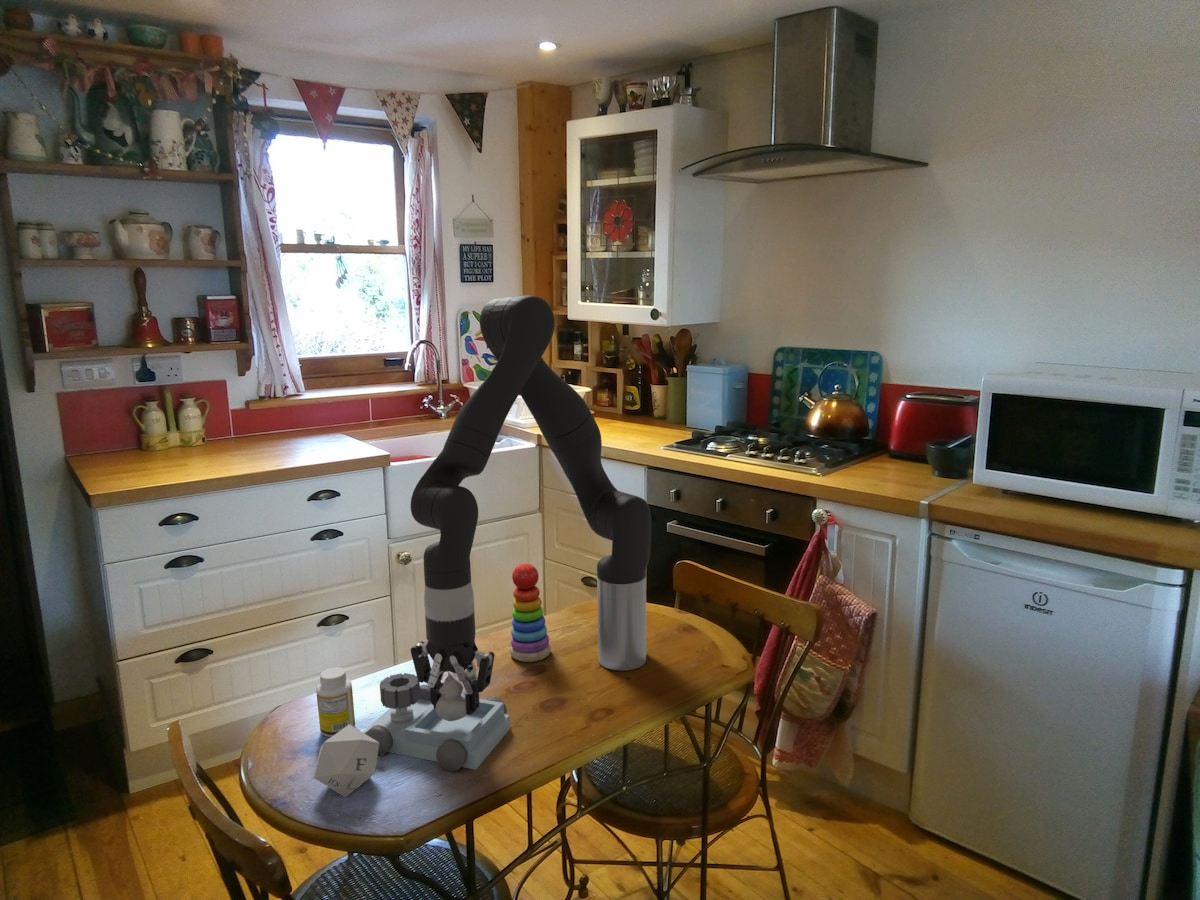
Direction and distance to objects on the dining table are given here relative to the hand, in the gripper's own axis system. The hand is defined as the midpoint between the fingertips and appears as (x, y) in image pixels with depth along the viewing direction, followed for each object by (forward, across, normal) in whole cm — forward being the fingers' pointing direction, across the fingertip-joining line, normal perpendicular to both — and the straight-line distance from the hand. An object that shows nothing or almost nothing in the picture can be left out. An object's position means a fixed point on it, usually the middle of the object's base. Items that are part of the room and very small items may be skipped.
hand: (455, 709), depth 130 cm
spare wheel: (0, +10, 0) cm, 10 cm away
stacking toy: (+6, +2, -32) cm, 33 cm away
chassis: (+6, +4, 0) cm, 7 cm away
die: (+6, +10, +15) cm, 19 cm away
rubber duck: (+2, 0, 0) cm, 2 cm away
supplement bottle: (+6, +20, +3) cm, 22 cm away
